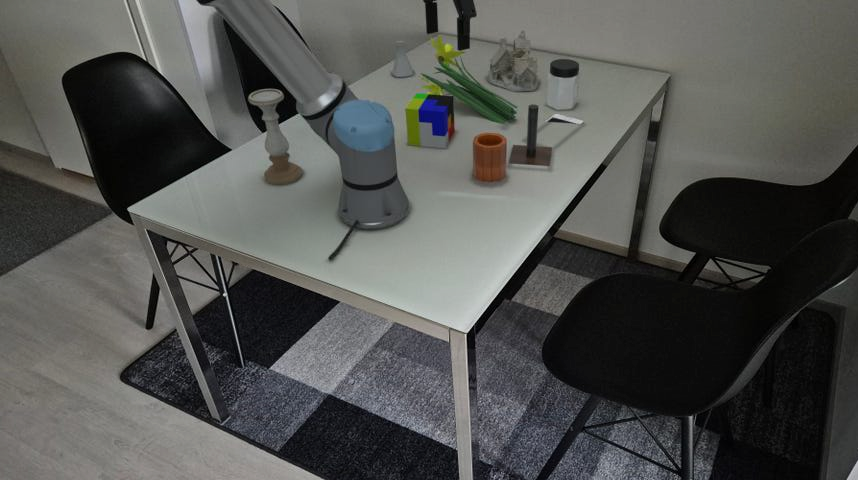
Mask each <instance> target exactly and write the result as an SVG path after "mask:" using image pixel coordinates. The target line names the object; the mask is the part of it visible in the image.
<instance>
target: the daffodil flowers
mask: <svg viewBox="0 0 858 480" xmlns="http://www.w3.org/2000/svg"><path fill="white" fill-rule="evenodd" d="M429 37H430V41H431V44H432V46H433V47H434V49H435V50H436V51H437V53H435V55H434V57H435V59H437V61H438V64H439V66H441V67H442V68H441V67H437V66H434V67H433V68H434V69H435V70H437V71H436V72H433V73H432V74H444V75H445V76H447V77H449V78H451V79H452V80H454V82H456V83H457V84H458V85H456V84H455V83H453V82H452V81H451V80H449V79H445V80H446V82H447V83H446V82H442V81H440V80H438V79H436V78H435V77H432V76H430V75H427V74H425V73H421V72H420V75H421V76H423V77H420V76H418V78H419V79H421V80H422V81H425V82H426V83H428V84H423V85H422V86H421V88H422V89H423V88H424V89H426V90H430V91H428V92H426V93H425V94H433V95H444V93H443V90H444V91H445V92H447V93H448V95H451V96H453V97H454V98H456V99H458V100H459V101H461V102H462V103H464V104H466V106H469V107H470V108H471V109H473V110H475V111H477V112H478V113H479V114H481V115H483V116H485V117H486V118H487V119H488V120H490V121H492V122H494V123H497V124H500V125H506V126H507V122H510V121H514V120H515V119H516V118H517V111H516V110H515V109H517V108H518V106H517V105H515V104H514V103H513V102H510V101H509V100H507V99H505V98H504V97H502V96H500V95H499V94H496V93H495V92H493V91H492V90H490V89H488V88H486V87H485V86H484V85H482V84H481V83H480V82H479V81H478V80H477V79H476V78H475V77H474V76H473V75H472V74H471V73H470V72H469V71H468V70H467V69H466V67H465V64H464V62H463V59H462V56H461V55H463V54H465V53H466V52H465V51H464V50H461V51H454V50H455V49H454V46H453V45H452V44H451V43H445V45H444V42H443V39H442V36H441V34H438V36H437V40H436V41H435V40H434V38H433V37H432V36H431V35H430V36H429ZM459 56H460V61H461V66H460V65H459V63H458V61H457V59H456V58H457V57H459ZM452 59H454V61H453V60H452ZM450 65H451V66H454V67H456V68H458V71H459V72H458V71H456V70H455V69H453V68H452V67H451V66H450ZM463 70H464V71H465V72H466V73H465V72H464V71H463ZM468 76H469V77H468Z"/></svg>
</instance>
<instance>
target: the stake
mask: <svg viewBox="0 0 858 480" xmlns="http://www.w3.org/2000/svg"><path fill="white" fill-rule="evenodd" d="M527 111H528V112H527V128H526V130H527V131H526V145H523V144H512V148H511V152H510V157H509V161H508V164H510V165H523V166H541V167H550V166H551V160H552V159H551V158H552V152H553V147H552V146H537V141H538V125H539V124H538V123H539V105H538V104H534V103H533V104H529V105H528V108H527Z"/></svg>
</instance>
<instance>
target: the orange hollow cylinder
mask: <svg viewBox="0 0 858 480" xmlns="http://www.w3.org/2000/svg"><path fill="white" fill-rule="evenodd" d="M507 146H508V140H507V137H506V136H504V135H503V134H500V133H496V132H483V133H479V134H477V135H475V136H474V137H473V139H472V176H473V177H474V178H475V179H476V180H477V181H480V182H483V183H496V182H500V181H502V180H504V179H505V178H506V175H507Z"/></svg>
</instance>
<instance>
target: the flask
mask: <svg viewBox="0 0 858 480" xmlns="http://www.w3.org/2000/svg"><path fill="white" fill-rule="evenodd" d="M394 44H395V46H396V53H395V54H396V55H395V58H394V62H393V67H392V71H391V75H392V76H394V77H396V78H406V77H410V76H413V75H414V69H413V67H412V64H411V62H410V59H409V57H408V55H407V52H406V47H405V46H406V41H404V40H398V41H395V43H394Z"/></svg>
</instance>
